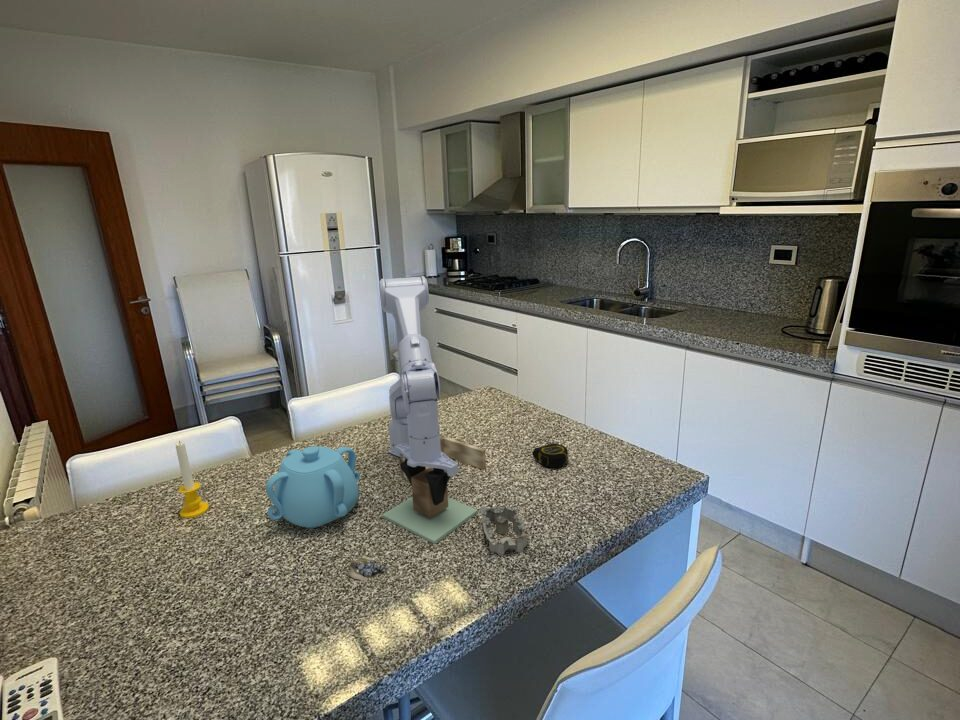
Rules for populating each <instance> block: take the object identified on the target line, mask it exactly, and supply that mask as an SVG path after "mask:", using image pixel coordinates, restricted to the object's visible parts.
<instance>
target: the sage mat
mask: <svg viewBox="0 0 960 720" xmlns="http://www.w3.org/2000/svg"><path fill="white" fill-rule="evenodd" d="M477 514H479V510H478V509H477V508H474V507H472V506H469V505H467V504H465V503H462V502H459V501H458V500H455V499H453V498H451V497H448V507H447V508H445V509H444V510H442V511H441V512H439V513H438V514H436V515H434V516H433V517H431V518H429V517H427V516H424V515H422V514H420V513H418V512H416V511H414V510H413V496H411V497H409V498H408V499H405V500H404V501H402V502H401V503H399V504H397V505H395V506H394V507H393V508H391V509H389V510H387V511H385V512H384V513H382V515H381V517H382V518H383V519H385V520H387V521H389V522H390V523H393V524H395V525H396V526H399V527H401V528H402V529H403V530H406V531H409V532H410V533H412V534H414V535H416V536H418V537H420V538H422V539H424V540H426V541H428V542H429V543H431V544H434V545H435V544H437V543H438V542H440V541H441V540H443V539H444V538H445V537H447V536H448V535H449V534H451V533H452V532H453V531H455V530H456V529H458V528H459V527H461V526H462V525H463V524H464V523H466V522H467V521H468V520H470V519H472V518H473V517H474V516H475V515H477Z"/></svg>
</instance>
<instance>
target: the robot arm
mask: <svg viewBox="0 0 960 720" xmlns="http://www.w3.org/2000/svg"><path fill="white" fill-rule="evenodd" d="M378 284H379V285H378V286H379V294H380V305H381V309H382V310H383V312H384V313H387V314H391V315H392V317H393V319H394V325H395V336H396V339H395V340H396V349H397V362H398V373H399V374H398V375H399V379H398V380H396V382H395V383H393V384H392V385H391V386H390V387H389V389H388V393H389V397H388V398H389V400H388V401H389V408H390V409H389V410H390V417H391V419H390V421H389V424H388V433H389V435H388V436H389V445H390V449H388V450H387V452H388V453H389V454H392V455H394V456H397V457H399V458H400V457H402V456H404V457H405V460H404V462H402V463H401V464H400V463H399V469H400V468H401V469H402V470H403V472H404V473H405V475H406V476H407V478H408V479H407V480H408V482H409V484H410V487H411V488H412V482H411V477H413V476H415V475H416V474H418V473H420V472H422V471H424V470H425V469H426V467H431V468H433V470H432V471H430V472H428V473H427V474H425V477H426V479H427V480H428V483H429V485H430V489H431V495H432V501H433V504H434V505H438V504H440V503H441V502H443V500H444V495H445V490H446V487H448V484H449V481H450V478H452V477H454V476H456V475H457V474H458V473H459V472H460V471H459V463H458V462H456V461H454V460H453V459H452V458H450V457H447V456H446V455H445V454H444V453H443V452H441V446H440V437H441V435H440V419H439V418H440V416H439V406H438V405H439V404H438V403H439V402H438V400H440V398H441V397H440V395H441V384H440V383H441V382H440V377H439V374H438V370H437V368H436V364H435V363H434V362H433V357H432V354H431V352H432V351H431V349H430V348H431V347H430V343H429V340H428V339H427V338H426V337H425V336H423V335H422V330H421V329H422V328H421V315H420V314H421V313H420V312H421V311H424V310H425V309H426V308H427V306H428V304H429V300H430V298H429V297H430V296H429V295H430V293H429V284H428V279H427V278H426V277H425V276H424V275H421V276H413V277H411V276H410V277H395V278H381V279H380V280H379V283H378Z"/></svg>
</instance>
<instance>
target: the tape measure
mask: <svg viewBox="0 0 960 720" xmlns="http://www.w3.org/2000/svg"><path fill="white" fill-rule="evenodd" d="M531 452H532V456H533V458H534V460H535V461H539V463H540V464H541V465H543V466H545V467H549V468H554V467H555V468H556V467H562V466H564V465H566V464H567V463H568V460H569V453H568V449H567V447H566V446H565V445H562V444H559V443H549V444H545V445H542V446H538V447H535V448H534V449H533V450H532V451H531Z"/></svg>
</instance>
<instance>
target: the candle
mask: <svg viewBox="0 0 960 720" xmlns="http://www.w3.org/2000/svg"><path fill="white" fill-rule="evenodd" d="M175 449H176V451H175V452H176V456H177V460H178V464H179V469H180V475H181V477H182V482H183V485H182V486H180V487H179V488H178V492H179V493H181V494H184V497H185V500H184V501H183V506H184V507H183V508H182V509H181V510H180V511H179V516H180V517H181V518H183V519H192V518H196V517H200V516H202V515H204V514H205V513H206V512H208V511H209V509H210V505H209V503H208V502H206V501H202V500H203V499H202V497H201V496H199V495H198V491H197V490H198V489H199V488H200V487H201V483H200V482H194V478H193V474H192V469H191V465H190V461H189V456H188V453H187V452H188V451H187V449H186V445H185V442H184V441H182V440H178V441H177V442H176V443H175Z"/></svg>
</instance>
